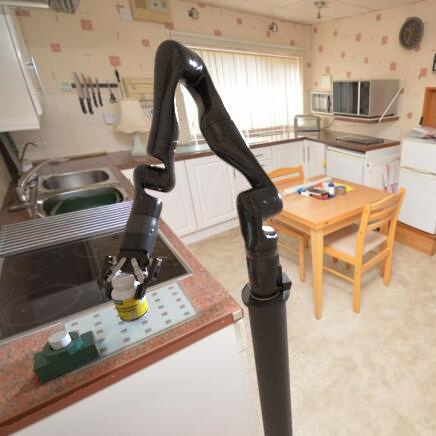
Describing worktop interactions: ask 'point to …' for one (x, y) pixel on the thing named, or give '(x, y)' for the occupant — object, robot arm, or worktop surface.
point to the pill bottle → (128, 299)
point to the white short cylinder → (59, 340)
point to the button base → (65, 356)
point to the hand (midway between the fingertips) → (123, 298)
